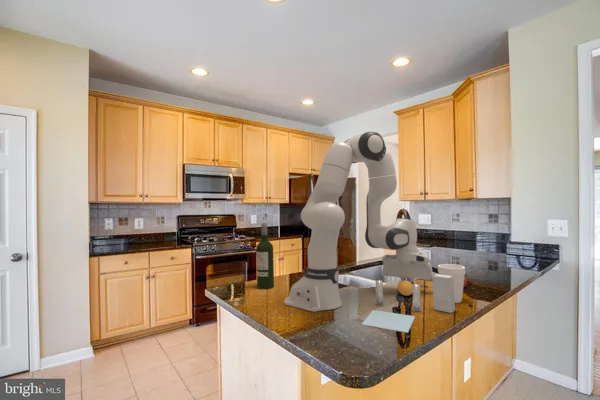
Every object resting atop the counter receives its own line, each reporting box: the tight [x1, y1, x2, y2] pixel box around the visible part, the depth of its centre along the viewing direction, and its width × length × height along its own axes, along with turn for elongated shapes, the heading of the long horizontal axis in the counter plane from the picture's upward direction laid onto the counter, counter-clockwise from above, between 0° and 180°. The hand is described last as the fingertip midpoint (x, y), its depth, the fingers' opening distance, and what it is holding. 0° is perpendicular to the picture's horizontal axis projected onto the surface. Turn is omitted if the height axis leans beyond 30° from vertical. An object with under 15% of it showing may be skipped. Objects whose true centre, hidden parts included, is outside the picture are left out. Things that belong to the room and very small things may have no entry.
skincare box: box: [431, 273, 456, 314], centre depth 106 cm, size 6×4×12 cm
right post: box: [412, 283, 422, 312], centre depth 107 cm, size 3×3×9 cm
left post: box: [375, 279, 384, 307], centre depth 113 cm, size 3×3×9 cm
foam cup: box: [437, 263, 466, 304], centre depth 116 cm, size 10×9×13 cm
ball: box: [397, 280, 413, 297], centre depth 124 cm, size 6×6×6 cm
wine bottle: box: [255, 222, 275, 290], centre depth 142 cm, size 8×8×30 cm
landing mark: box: [361, 309, 416, 334], centre depth 97 cm, size 14×14×1 cm
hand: (407, 287), depth 130 cm, fingers closed
